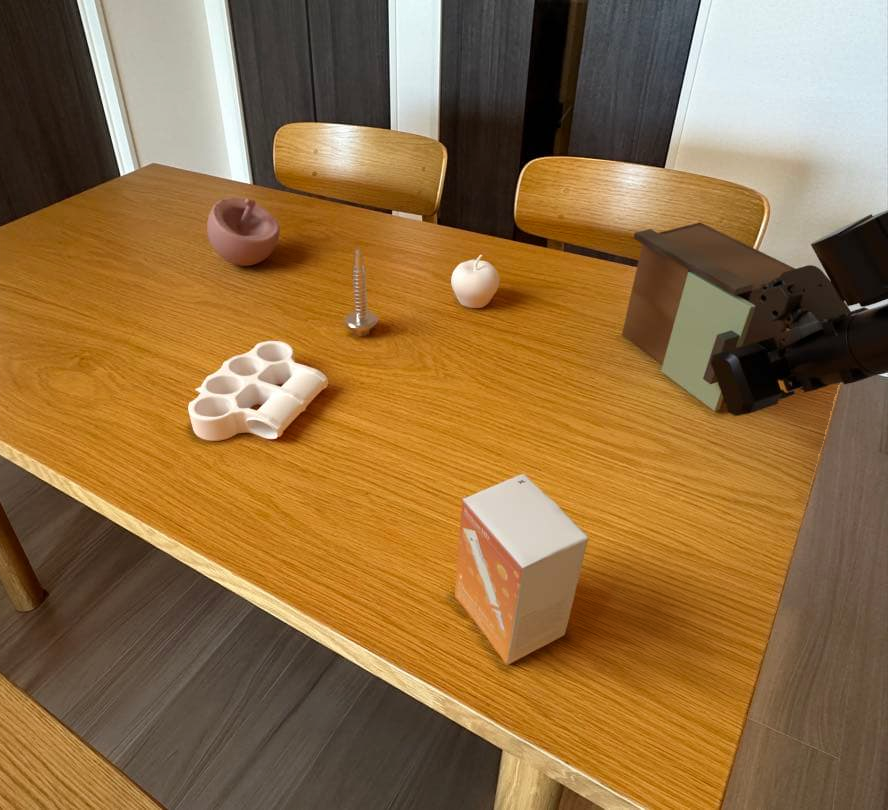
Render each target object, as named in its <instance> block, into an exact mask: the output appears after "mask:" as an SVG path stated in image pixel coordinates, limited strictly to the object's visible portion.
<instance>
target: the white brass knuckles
mask: <svg viewBox="0 0 888 810" xmlns="http://www.w3.org/2000/svg"><path fill="white" fill-rule="evenodd" d="M328 384H329V379H328V377H327V375H325V374H324V373H323V372H321V370H319V369H316V368H314V367H310V366H308V365H305V364H302V363H298V362H296V360H295V352H294V349H293V348H292V346H291V345H289V344H288V343H286V342H283V341H280V340H267V341H262V342H259V343H257V344H255V346H254V347H253V348H252V349H251V350H248V352H245V353H242V354H238V355H234V356H232V357H230V358H229V359H226V360H225V361H223V363H222V366H221V367H220V368H218V370H217V371H215V372H214V373H211V374H209V375H207V376H206V377H205V379H204V381H203V382H202V384H201V385H200V386H199V387H197V388H195V389H194V390H195V391H196V392H198V393H199V395H197V397H196V398H194V399H193V400H191V401H190V402H189V403H188V407H187V409H188V410H187V411H188V416H189V418H190V422H191V426H192V430H193V432H194V434H195V435H196V436H197V437H198V438H199V439H202V440H204V441H208V442H209V441H210V442H218V441H225V440H227V439H230V438H233V437H234V436H236V435H238V434H245V433H249V434H252V435H255V436H258V437H261V438H263V439H267V440H275V439H277V438H280V437H281V436H282V435H283V434H284V431H285V430H286V429H287V428H288V427H289V426H290V425H291V424H292V423H293V422H294V421H295V420H296V418H297V417H298V416H299V415H300V414H301V413H304V412H305V411H306V410H307V407H308V406H309V405H310V404H311V403H312V401H313V400H314V399H315V398H316V397H317V396H318V395H319V394H320V393H321V392H322V390H324V389H326V388H328ZM279 385H282V386H279ZM256 405H261V406H260V407H259V408H258V409H257V410H256V409H253V407H254V406H256Z"/></svg>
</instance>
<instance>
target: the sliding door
mask: <svg viewBox="0 0 888 810" xmlns="http://www.w3.org/2000/svg"><path fill="white" fill-rule="evenodd" d="M755 308H756V306H755V305H754V304H752V303H750V302H748V301H746V300H745V299H743V298H741V297H739V296H738V295H733V294H731V293H729V292H727V291H726V290H724V289H722V288H720V287H718V286H717V285H715V284H713V283H711V282H710V281H708V280H706V279H704V278H702V277H701V276H699V275H697V274H695V273H694V272H692V271H691V272H688V275H687V279H686V282H685V286H684V289H683V293H682V297H681V300H680V304H679V308H678V311H677V315H676V319H675V322H674V326H673V329H672V333H671V337H670V340H669V344H668V348H667V351H666V355H665V358H664V362H663V365H661V370H660V372H661V373H663V375H665V376H666V377H667V378H669V379H671V380H672V381H673V382H674V383H676V385H678V386H679V387H681V388H682V389H684V390H685V391H687V392H688V393H689V394H691V396H693V397H695V398H696V399H697V400H698V401H700V402H701V403H702V404H704V405H705V406H706V407H708V408H710V409H711V410H712V411H713V412H717V411H719V410H720V409H721V406H722V403H723V402H724V398H723V396H722V393H721V390H720V387H719V384H718V382H717V379H716V376H715V373H714V371H713V368H712V365H711V359H712V356H713V355H714V354H718V353H721V352H724V351H727V350H731V349H734V348H737V347H740V346H742V344H743V342H744V339H745V336H746V333H747V330H748V328H749V325H750V322H751V319H752V316H753V313H754V311H755Z"/></svg>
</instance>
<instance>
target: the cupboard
mask: <svg viewBox="0 0 888 810" xmlns="http://www.w3.org/2000/svg"><path fill="white" fill-rule="evenodd" d="M633 239H634V240H635V241H637V242H639V243H640V244H641V248H640V251H639V257H638V261H637V264H636V265H637V266H636V269H635V275H634V279H633V284H632V288H631V292H630V297H629V301H628V305H627V310H626V314H625V319H624V323H623V328H622V333H621V336H623V338H625V339H626V340H628V341H629V342H631V343H632V344H633V345H634V346H636V347H638V348H639V349H640V350H642V351H643V352H645V354H647V355H648V356H650V357H651V358H653V359H654V360H655V361H656V362H658V363H659V364H661V366H663V362H664V358H665V355H666V351H667V348H668V344H669V340H670V337H671V333H672V329H673V326H674V322H675V319H676V315H677V311H678V308H679V304H680V300H681V297H682V293H683V289H684V286H685V282H686V279H687V275H688V272H691V271H692V272H694V273H695V274H697V275H699V276H701V277H702V278H704V279H706V280H708V281H710V282H711V283H713V284H715V285H717V286H718V287H720V288H722V289H724V290H726V291H727V292H729V293H731V294H733V295H738V296H739V297H741V298H743V299H745V300H746V301H748V302H750V303H752V304H754V305H755V306H756V308H755V311H754V313H753V316H752V319H751V322H750V325H749V328H748V330H747V333H746V336H745V339H744V342H743V344H742V346H743V345H747V344H750V343H753V342H759V341H763V340H766V339H769V338H772V337H775V340H776V343H777V345H778V347H779V345H780V343H781V339H780V337H779V334H780V333H783V332H786V331H787V329H788V328H786V327H785V326H784V325H783V324H782V323H781V322H780V321H779V320H778V321H770V320H769V319H768V318H767V316H766V315H765V314H764V312H763V311H762V310H761V308H760V307H759V306H758V304H757V297H758V296H759V295H760V294H761V293H762V292H761V286H762V285H763V284H766V283H769V282H771V281H773V280H774V279H776V278H778V277H779V276H780V275H781V274H782V273H784V272H786V271H790V270H793V269H796V268H795V267H793V266H792V265H789V264H787V263H785V262H783V261H781V260H779V259H777V258H775V257H773V256H770V255H768V254H767V253H765V252H762V251H760V250H758V249H756V248H754V247H752V246H750V245H748V244H746V243H744V242H742V241H740V240H737V239H736V238H733V237H731V236H729V235H727V234H725V233H723V232H721V231H719V230H718V229H715V228H713V227H711V226H709V225H707V224H705V223H703V222H696V223H692V224H688V225H683V226H681V227H676V228H671V229H668V230H663V231H660V232H657V231H656V230H653V229H651V228H648V229H645V230H641V231H636V232H634V235H633Z"/></svg>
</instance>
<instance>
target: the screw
mask: <svg viewBox="0 0 888 810" xmlns="http://www.w3.org/2000/svg"><path fill="white" fill-rule="evenodd" d="M353 253H354V254H353V255H354V257H353V265H352V268H353V269H352V272H353V273H352V274H351V275H352V280H353V281H352V284H353V285H352V291H353V306H354V308H353V309H354V311H351V312H349V313H348V314H347V315H345V317H344V320H343V322H344V325H345V327H346V328H348V329H350V330H352V335H354V336H357V337H360V338H362V337H366V336H370V333H371V331H372V329H373V328H374V327H376V326H377V325H378V324H379V317H378V314H376V313H375V312H372V311H370V310H368V305H367V304H368V301H367V300H368V298H367V295H368V294H367V292H368V290H367V278H366V277H367V274H366V272H367V271H366V270H365V269H366V266H365V265H364V259H363V253H362V251H361V249H359V248H357V249H354V250H353Z"/></svg>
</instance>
